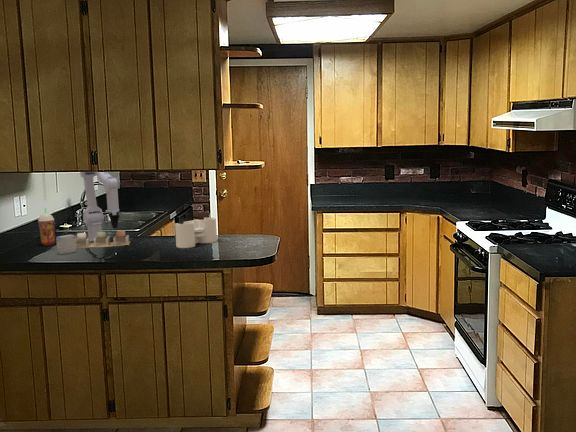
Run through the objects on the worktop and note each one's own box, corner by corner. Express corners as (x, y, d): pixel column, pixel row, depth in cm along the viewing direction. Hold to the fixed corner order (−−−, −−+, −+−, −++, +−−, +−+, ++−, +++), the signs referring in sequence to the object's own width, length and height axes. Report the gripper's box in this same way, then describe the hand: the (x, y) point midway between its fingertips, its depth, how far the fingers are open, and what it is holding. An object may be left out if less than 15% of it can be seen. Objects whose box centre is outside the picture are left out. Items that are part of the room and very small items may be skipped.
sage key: (98, 239, 327) (97, 231, 326) (106, 238, 328) (105, 231, 327) (96, 240, 323) (96, 233, 322) (105, 240, 323) (104, 232, 323)
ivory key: (78, 240, 325) (77, 233, 325) (87, 240, 326) (86, 232, 325) (77, 242, 321) (76, 234, 320) (85, 241, 322) (85, 233, 321)
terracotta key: (117, 238, 328) (116, 230, 328) (125, 237, 329) (125, 230, 329) (116, 239, 324) (115, 232, 324) (125, 239, 325) (124, 231, 324)
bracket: (187, 248, 307) (186, 224, 305) (173, 247, 313) (172, 223, 311) (221, 240, 327) (219, 218, 325) (207, 239, 333) (206, 217, 331)
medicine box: (71, 251, 312) (70, 234, 311) (76, 252, 309) (75, 235, 308) (57, 253, 306) (55, 236, 305) (62, 254, 303) (60, 237, 302)
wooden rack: (76, 245, 329) (75, 237, 329) (130, 241, 334) (129, 234, 333) (72, 249, 317) (71, 241, 317) (128, 245, 322) (127, 238, 321)
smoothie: (37, 245, 334) (34, 208, 332) (52, 242, 340) (48, 206, 338) (44, 246, 329) (41, 209, 326) (59, 244, 335) (56, 207, 332)
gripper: (104, 200, 328) (106, 226, 329) (105, 203, 314) (107, 229, 316) (117, 199, 330) (119, 224, 332) (119, 202, 316) (121, 228, 318)
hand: (114, 227), depth 324 cm, fingers open, 7 cm apart
